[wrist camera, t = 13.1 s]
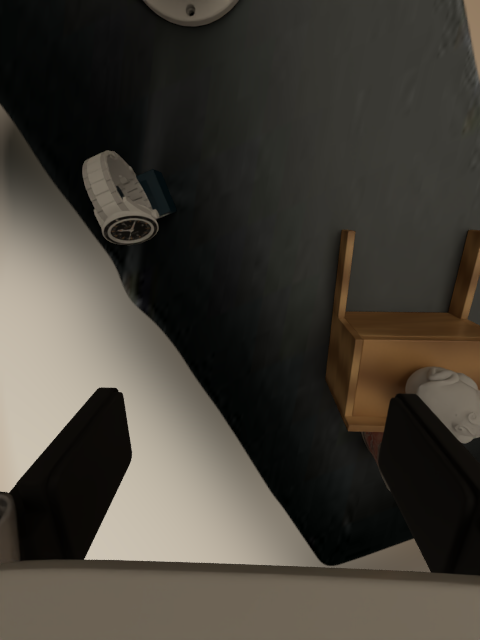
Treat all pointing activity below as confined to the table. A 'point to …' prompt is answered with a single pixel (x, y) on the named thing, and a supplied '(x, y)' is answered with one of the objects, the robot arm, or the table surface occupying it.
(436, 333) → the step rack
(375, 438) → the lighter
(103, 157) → the watch
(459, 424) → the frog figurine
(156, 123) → the table surface
